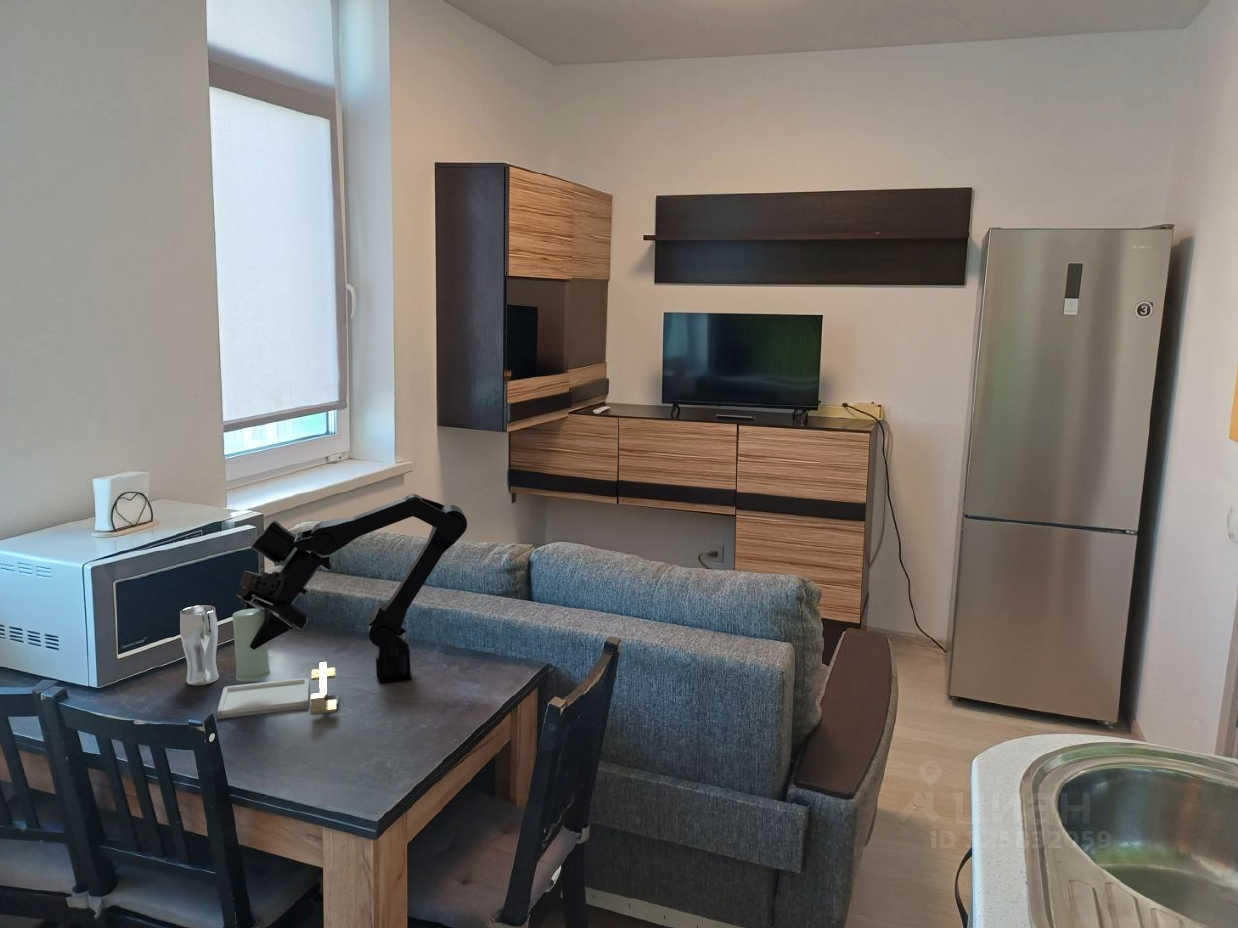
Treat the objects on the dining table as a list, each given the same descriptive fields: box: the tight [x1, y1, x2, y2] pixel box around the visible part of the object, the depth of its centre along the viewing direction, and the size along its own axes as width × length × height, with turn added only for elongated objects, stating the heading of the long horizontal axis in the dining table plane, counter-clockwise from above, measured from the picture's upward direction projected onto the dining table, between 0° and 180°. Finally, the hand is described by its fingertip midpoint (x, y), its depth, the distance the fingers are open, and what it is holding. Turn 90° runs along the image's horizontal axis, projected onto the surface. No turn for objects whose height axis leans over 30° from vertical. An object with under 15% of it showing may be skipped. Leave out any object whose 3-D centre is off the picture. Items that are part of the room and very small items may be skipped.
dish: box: [217, 677, 310, 720], centre depth 178 cm, size 16×12×2 cm
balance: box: [310, 661, 339, 715], centre depth 175 cm, size 5×15×7 cm, turn 18°
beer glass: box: [179, 604, 220, 686], centre depth 187 cm, size 7×7×15 cm
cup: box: [232, 609, 271, 683], centre depth 176 cm, size 6×6×12 cm
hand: (244, 644), depth 175 cm, fingers closed on cup, 6 cm apart
